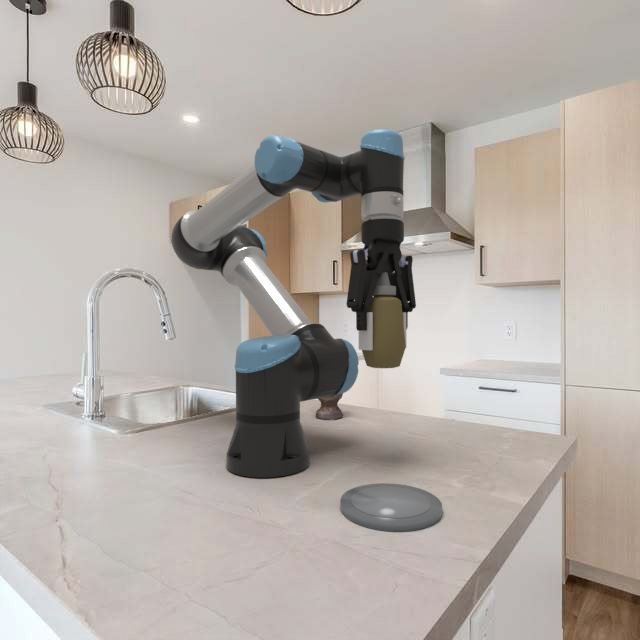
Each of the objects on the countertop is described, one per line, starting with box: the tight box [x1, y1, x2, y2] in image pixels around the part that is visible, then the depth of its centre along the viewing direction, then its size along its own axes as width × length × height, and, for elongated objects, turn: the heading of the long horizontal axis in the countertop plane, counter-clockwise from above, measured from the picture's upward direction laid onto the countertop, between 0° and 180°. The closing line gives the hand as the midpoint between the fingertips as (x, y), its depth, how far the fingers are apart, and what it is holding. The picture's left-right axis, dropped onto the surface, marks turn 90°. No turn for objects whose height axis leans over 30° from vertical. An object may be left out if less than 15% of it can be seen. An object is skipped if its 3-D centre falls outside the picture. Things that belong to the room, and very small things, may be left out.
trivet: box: [339, 482, 443, 533], centre depth 64 cm, size 14×14×1 cm
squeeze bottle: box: [361, 272, 407, 369], centre depth 82 cm, size 8×8×18 cm
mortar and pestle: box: [315, 393, 344, 421], centre depth 125 cm, size 12×9×20 cm
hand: (383, 348), depth 82 cm, fingers closed on squeeze bottle, 8 cm apart
